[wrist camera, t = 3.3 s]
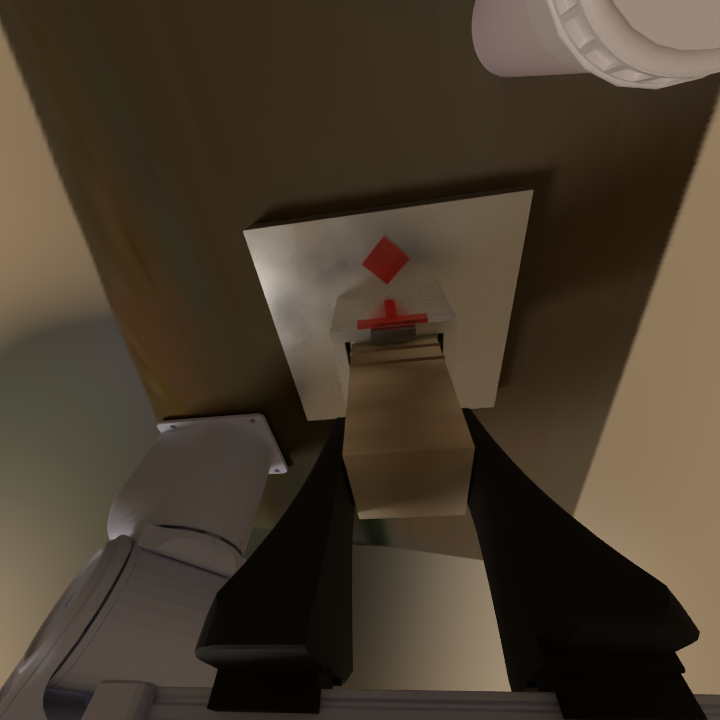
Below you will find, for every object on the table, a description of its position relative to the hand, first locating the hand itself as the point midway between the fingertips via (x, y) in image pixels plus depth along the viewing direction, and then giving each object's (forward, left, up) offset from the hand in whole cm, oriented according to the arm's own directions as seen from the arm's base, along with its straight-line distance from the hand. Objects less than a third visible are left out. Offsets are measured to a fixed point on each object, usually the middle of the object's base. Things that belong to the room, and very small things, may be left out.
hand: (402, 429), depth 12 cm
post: (0, 0, -5) cm, 5 cm away
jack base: (0, 0, -9) cm, 9 cm away
